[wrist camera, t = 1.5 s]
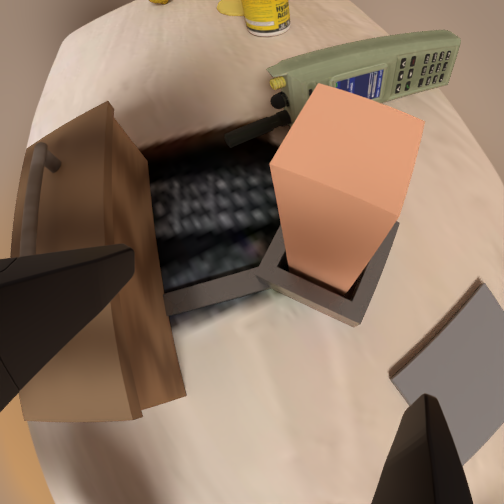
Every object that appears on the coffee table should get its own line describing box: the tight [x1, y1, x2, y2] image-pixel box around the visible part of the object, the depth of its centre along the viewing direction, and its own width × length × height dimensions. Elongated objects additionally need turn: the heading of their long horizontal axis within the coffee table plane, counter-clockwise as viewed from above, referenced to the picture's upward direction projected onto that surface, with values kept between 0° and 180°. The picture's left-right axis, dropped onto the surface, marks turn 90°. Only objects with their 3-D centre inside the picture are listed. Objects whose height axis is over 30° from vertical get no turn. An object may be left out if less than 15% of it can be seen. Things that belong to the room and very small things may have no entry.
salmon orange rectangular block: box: [270, 83, 425, 297], centre depth 15 cm, size 4×4×13 cm
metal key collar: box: [163, 221, 399, 327], centre depth 20 cm, size 12×13×2 cm
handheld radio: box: [224, 30, 461, 148], centre depth 22 cm, size 7×3×25 cm
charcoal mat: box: [390, 283, 504, 466], centre depth 16 cm, size 10×10×1 cm
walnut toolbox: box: [11, 101, 186, 422], centre depth 18 cm, size 21×9×10 cm, turn 15°
